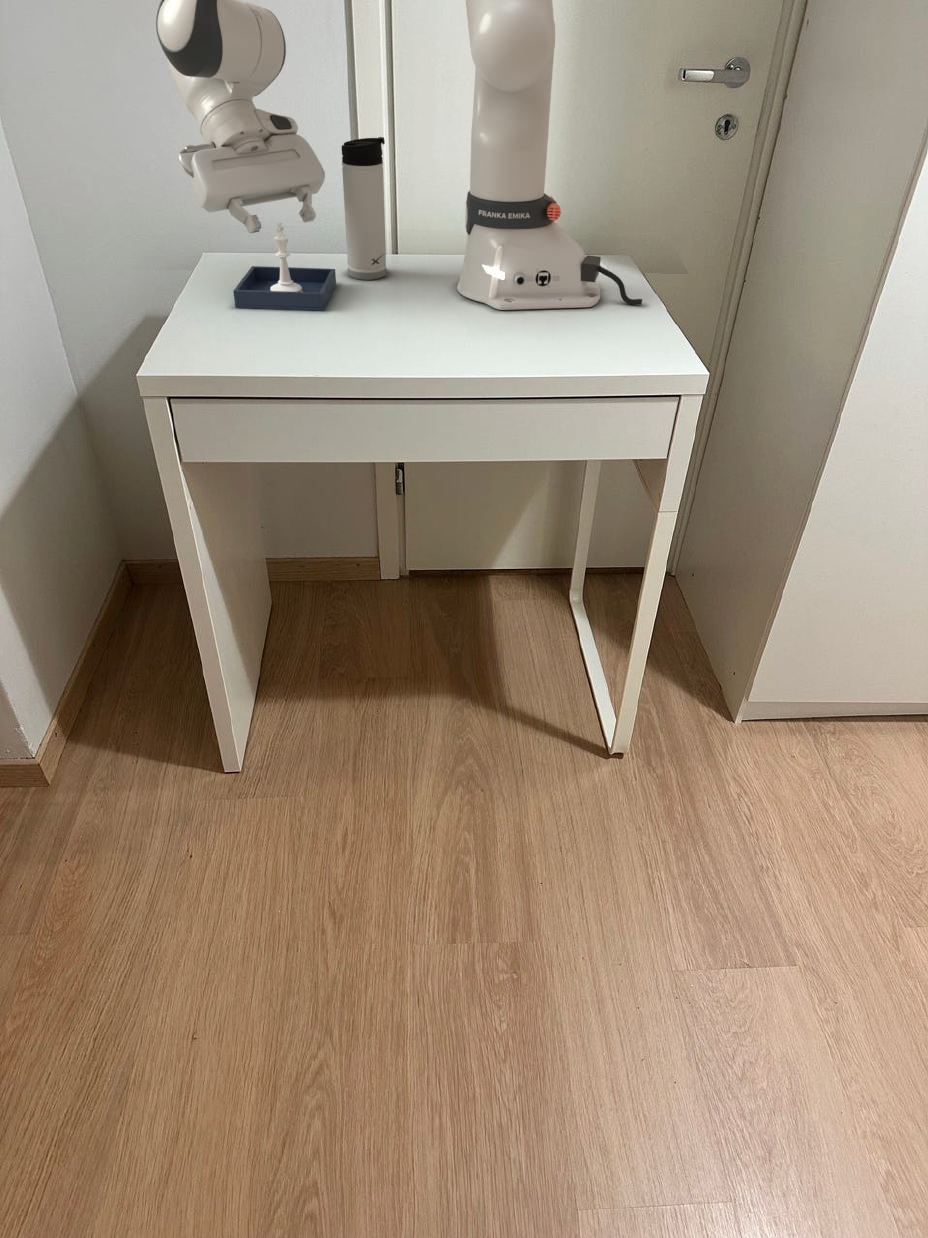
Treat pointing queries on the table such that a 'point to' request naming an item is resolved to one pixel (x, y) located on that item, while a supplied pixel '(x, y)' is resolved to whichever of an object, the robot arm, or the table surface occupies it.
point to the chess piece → (284, 265)
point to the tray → (259, 295)
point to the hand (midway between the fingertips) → (283, 224)
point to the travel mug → (364, 207)
